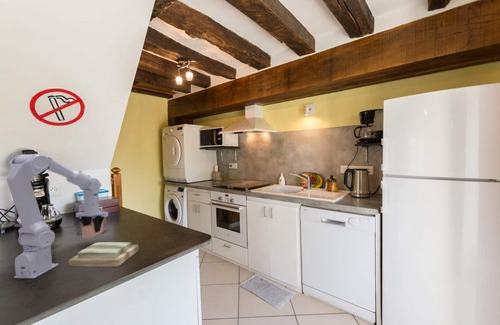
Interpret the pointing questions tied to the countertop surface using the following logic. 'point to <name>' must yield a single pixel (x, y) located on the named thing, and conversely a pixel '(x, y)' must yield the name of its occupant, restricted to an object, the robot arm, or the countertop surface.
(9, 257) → the countertop surface
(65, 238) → the countertop surface
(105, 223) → the lion figurine
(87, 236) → the terracotta brick
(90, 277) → the countertop surface
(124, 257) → the tower base
